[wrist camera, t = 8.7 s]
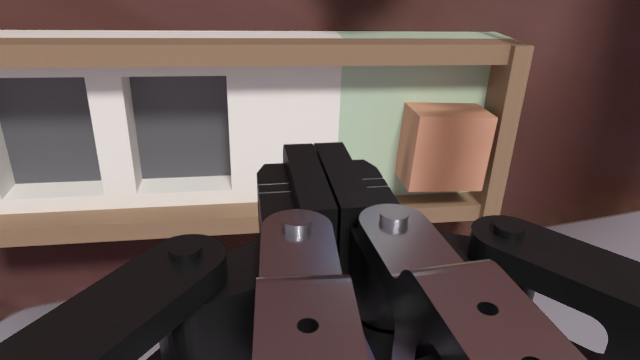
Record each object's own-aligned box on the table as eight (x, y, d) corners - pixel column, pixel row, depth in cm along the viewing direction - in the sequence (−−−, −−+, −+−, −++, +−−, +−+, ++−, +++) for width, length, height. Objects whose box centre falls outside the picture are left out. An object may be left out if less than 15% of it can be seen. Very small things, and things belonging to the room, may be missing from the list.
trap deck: (495, 31, 35) (534, 46, 30) (468, 190, 40) (498, 222, 35) (-50, 29, 29) (-100, 46, 25) (0, 212, 35) (-34, 254, 30)
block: (476, 103, 34) (498, 117, 31) (462, 172, 36) (481, 191, 33) (404, 101, 33) (420, 116, 30) (394, 172, 35) (408, 192, 33)
